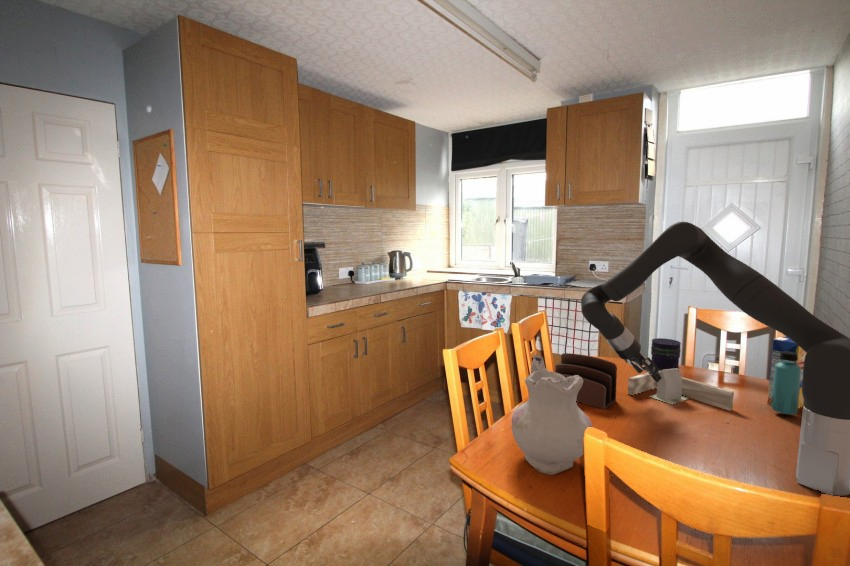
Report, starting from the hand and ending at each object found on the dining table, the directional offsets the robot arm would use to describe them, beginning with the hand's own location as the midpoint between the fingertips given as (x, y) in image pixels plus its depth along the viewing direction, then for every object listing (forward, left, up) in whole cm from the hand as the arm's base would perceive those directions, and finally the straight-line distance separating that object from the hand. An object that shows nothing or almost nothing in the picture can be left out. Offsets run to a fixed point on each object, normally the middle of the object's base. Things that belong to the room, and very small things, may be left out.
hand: (649, 375), depth 143 cm
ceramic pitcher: (-55, -8, -10) cm, 56 cm away
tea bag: (+10, -1, -9) cm, 14 cm away
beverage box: (+38, -24, -10) cm, 46 cm away
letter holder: (-15, +15, -10) cm, 23 cm away
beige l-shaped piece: (+9, -4, -9) cm, 14 cm away
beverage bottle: (+27, -27, -10) cm, 39 cm away
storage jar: (+27, +11, -10) cm, 31 cm away
